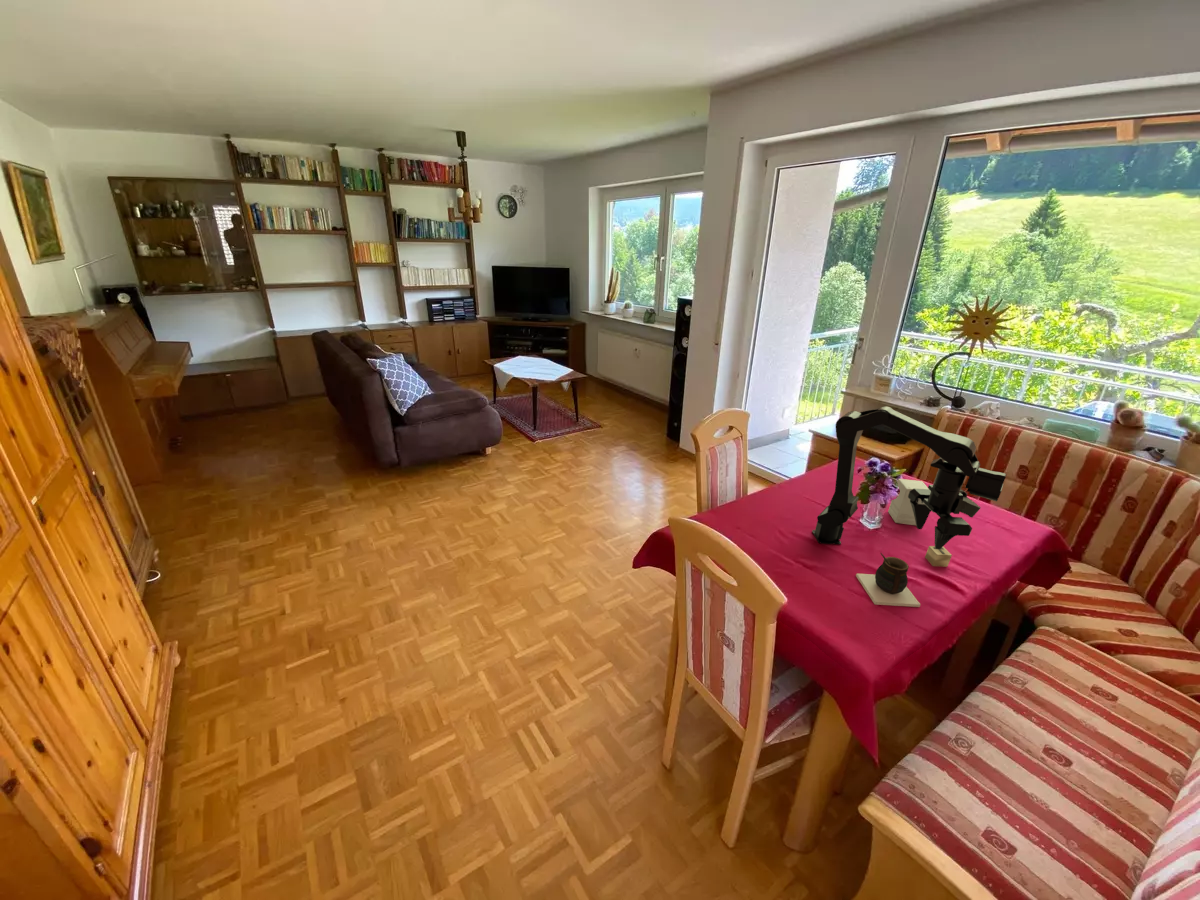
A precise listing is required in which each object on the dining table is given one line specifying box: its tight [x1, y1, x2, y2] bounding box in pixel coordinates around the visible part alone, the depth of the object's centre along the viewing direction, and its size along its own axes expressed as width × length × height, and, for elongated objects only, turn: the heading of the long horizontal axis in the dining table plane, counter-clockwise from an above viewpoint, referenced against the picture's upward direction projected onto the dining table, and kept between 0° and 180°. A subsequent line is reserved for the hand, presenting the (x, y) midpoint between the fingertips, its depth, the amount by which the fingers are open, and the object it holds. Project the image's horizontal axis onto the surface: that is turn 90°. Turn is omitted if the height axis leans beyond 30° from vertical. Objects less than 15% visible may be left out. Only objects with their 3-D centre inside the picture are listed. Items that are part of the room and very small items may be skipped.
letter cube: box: [924, 545, 953, 568], centre depth 138 cm, size 4×4×4 cm
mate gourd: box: [874, 552, 910, 595], centre depth 125 cm, size 7×8×10 cm
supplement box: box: [888, 478, 928, 526], centre depth 157 cm, size 7×7×13 cm
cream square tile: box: [855, 573, 921, 608], centre depth 127 cm, size 11×11×1 cm
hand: (928, 538), depth 129 cm, fingers open, 9 cm apart
